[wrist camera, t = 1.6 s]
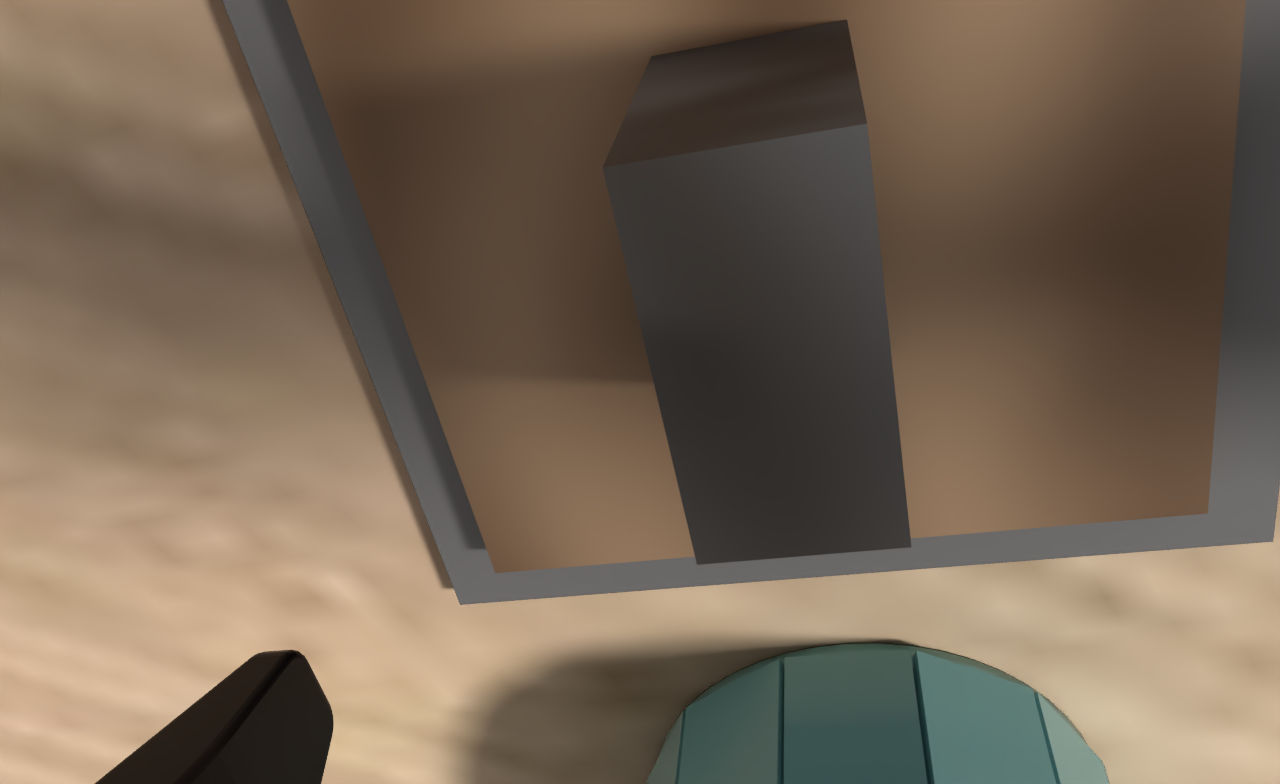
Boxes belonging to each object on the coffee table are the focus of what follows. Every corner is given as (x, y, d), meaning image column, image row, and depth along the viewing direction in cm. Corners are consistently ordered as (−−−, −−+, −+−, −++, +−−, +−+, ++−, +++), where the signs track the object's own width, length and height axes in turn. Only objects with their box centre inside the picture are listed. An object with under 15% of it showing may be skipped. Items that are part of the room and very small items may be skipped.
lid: (1251, -402, 13) (1520, -482, 8) (1194, 487, 20) (1321, 727, 15) (256, -152, 16) (25, -104, 11) (503, 548, 23) (426, 766, 18)
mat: (1384, -585, 13) (1403, -596, 12) (1263, 525, 21) (1272, 541, 21) (144, -241, 16) (127, -241, 16) (465, 589, 25) (460, 604, 24)
